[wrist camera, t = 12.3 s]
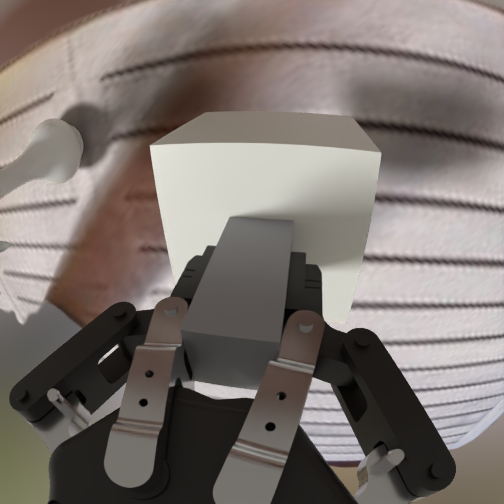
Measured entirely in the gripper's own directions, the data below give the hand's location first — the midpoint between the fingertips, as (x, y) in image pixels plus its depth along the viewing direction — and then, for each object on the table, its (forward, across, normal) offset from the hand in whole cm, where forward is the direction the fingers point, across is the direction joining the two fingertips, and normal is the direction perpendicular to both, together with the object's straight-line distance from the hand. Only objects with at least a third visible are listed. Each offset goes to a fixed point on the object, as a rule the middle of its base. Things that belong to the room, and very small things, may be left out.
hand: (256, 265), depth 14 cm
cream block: (+10, 0, 0) cm, 10 cm away
